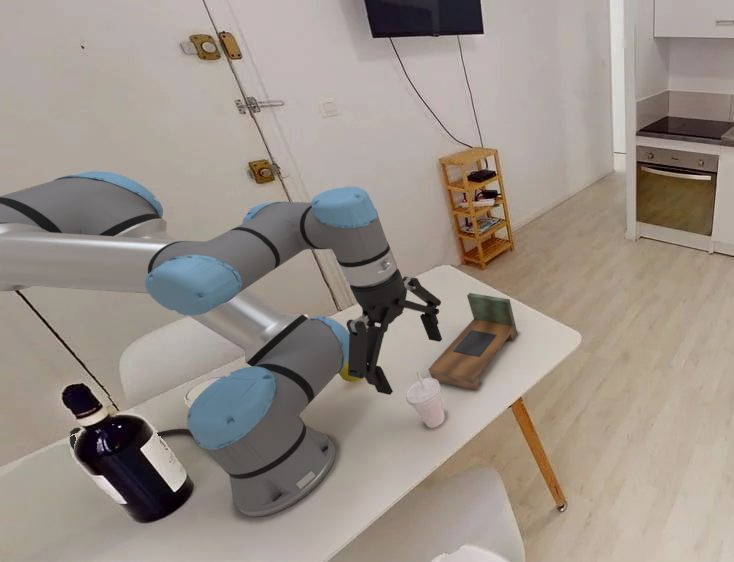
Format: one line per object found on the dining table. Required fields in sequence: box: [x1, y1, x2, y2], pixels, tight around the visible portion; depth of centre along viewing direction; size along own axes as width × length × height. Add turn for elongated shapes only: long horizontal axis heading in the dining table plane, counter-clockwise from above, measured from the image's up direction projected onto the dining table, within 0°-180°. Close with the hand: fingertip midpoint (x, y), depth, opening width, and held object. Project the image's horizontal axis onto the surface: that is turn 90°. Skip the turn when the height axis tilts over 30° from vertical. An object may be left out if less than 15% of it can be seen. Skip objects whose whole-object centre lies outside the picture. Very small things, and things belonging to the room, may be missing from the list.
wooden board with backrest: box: [428, 292, 518, 391], centre depth 102 cm, size 12×19×12 cm, turn 165°
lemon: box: [338, 362, 362, 383], centre depth 97 cm, size 6×6×8 cm
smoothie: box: [405, 371, 446, 429], centre depth 85 cm, size 6×6×14 cm
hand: (412, 364), depth 80 cm, fingers open, 13 cm apart
